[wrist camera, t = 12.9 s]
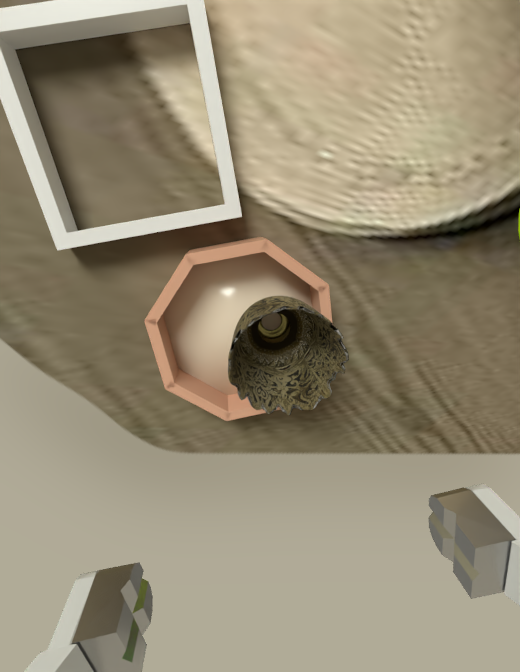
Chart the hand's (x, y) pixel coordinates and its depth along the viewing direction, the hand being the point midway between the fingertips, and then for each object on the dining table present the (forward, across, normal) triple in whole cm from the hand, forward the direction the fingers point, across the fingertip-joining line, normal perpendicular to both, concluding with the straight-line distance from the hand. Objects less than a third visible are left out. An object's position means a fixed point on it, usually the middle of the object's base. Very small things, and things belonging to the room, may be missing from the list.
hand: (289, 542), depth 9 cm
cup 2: (+20, -2, 0) cm, 20 cm away
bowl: (+20, 0, 0) cm, 20 cm away
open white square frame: (+20, +5, -15) cm, 26 cm away
